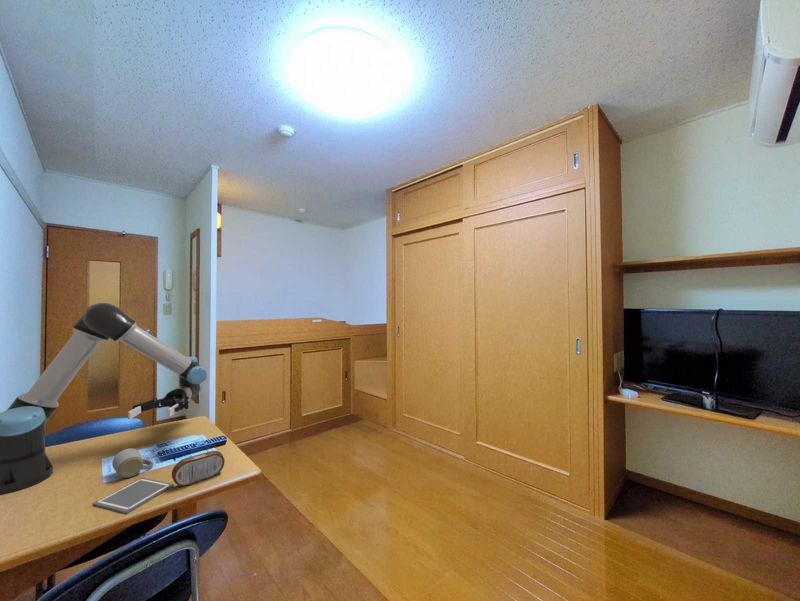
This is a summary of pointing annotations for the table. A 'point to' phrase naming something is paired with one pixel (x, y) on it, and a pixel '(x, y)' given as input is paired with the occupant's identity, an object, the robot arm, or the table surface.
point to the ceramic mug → (130, 463)
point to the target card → (133, 495)
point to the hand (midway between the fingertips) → (148, 414)
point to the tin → (197, 468)
